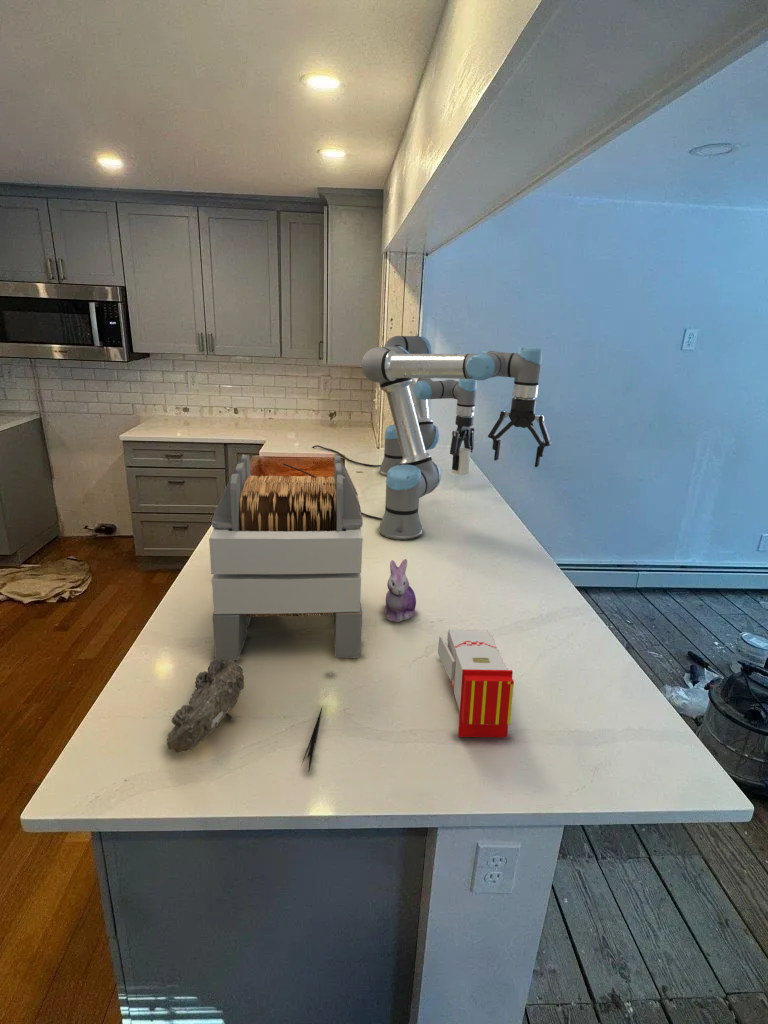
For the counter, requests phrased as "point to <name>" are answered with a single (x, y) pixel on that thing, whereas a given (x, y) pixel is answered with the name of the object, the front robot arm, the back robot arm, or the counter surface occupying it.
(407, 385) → the front robot arm
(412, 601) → the figurine
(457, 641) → the toy
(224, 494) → the grey record crate stand
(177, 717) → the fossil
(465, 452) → the canister
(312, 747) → the feather
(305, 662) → the counter surface
